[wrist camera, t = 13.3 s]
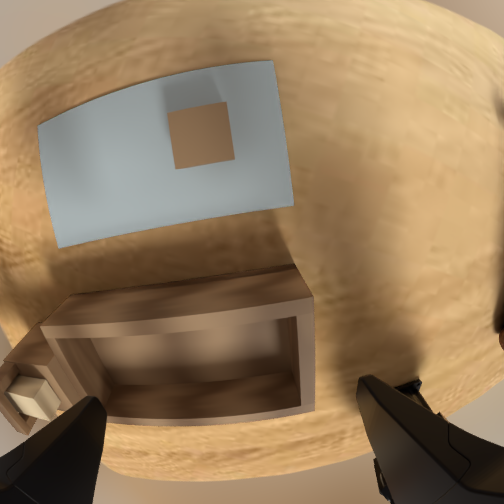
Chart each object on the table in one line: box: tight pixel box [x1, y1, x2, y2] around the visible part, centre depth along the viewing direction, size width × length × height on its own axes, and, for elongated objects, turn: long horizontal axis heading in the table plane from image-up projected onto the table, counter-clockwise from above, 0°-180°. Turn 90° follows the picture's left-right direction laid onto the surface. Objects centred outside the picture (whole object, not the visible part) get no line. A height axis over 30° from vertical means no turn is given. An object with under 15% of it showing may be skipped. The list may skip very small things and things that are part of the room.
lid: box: [38, 60, 294, 248], centre depth 15 cm, size 18×10×4 cm, turn 98°
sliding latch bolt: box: [4, 375, 61, 421], centre depth 13 cm, size 9×2×2 cm, turn 98°
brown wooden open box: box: [0, 264, 315, 435], centre depth 16 cm, size 24×10×10 cm, turn 98°
